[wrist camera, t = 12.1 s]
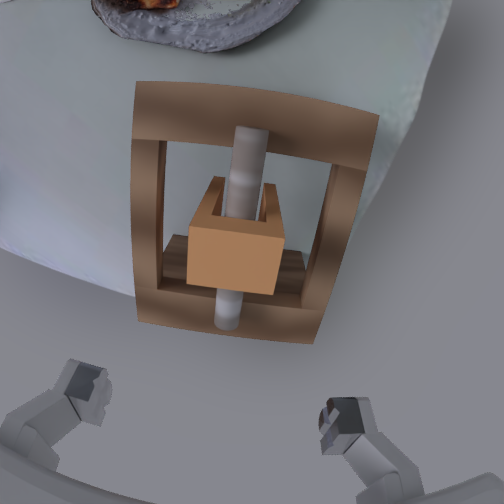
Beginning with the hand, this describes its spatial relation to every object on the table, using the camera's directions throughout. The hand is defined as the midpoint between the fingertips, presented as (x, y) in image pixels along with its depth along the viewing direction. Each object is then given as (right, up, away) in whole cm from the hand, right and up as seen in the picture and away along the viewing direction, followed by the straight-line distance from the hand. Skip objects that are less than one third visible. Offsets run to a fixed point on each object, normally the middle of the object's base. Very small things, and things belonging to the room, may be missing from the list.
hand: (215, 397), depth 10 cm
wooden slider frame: (+1, +13, +24) cm, 28 cm away
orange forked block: (0, +10, +18) cm, 21 cm away
